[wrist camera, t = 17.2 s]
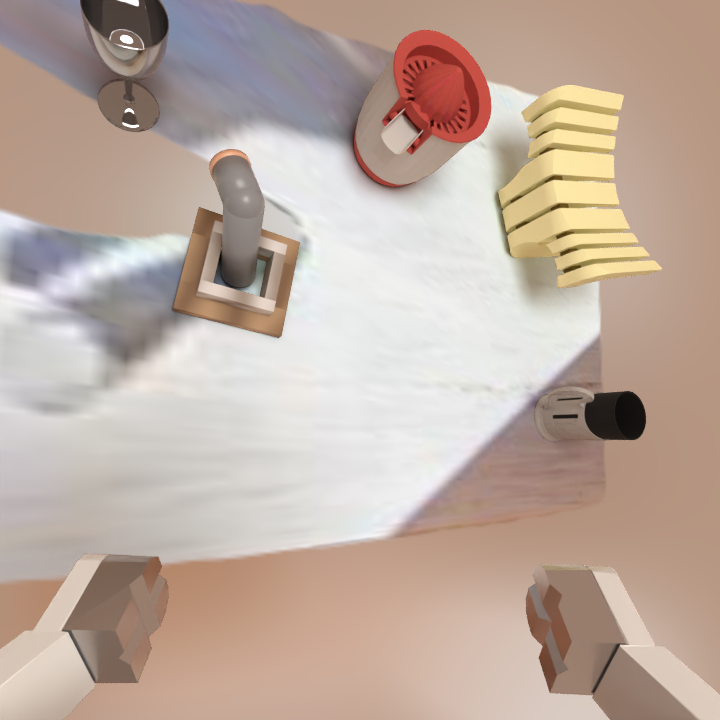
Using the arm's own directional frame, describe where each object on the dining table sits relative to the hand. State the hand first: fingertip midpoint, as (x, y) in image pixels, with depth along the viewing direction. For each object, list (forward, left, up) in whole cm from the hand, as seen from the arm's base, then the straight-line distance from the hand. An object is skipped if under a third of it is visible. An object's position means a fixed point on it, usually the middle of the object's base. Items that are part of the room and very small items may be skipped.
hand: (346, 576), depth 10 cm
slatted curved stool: (+52, +51, -52) cm, 90 cm away
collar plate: (+2, +25, -51) cm, 57 cm away
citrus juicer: (+20, +52, -52) cm, 76 cm away
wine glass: (-16, +42, -52) cm, 69 cm away
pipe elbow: (+1, +26, -51) cm, 57 cm away
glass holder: (+59, +17, -52) cm, 81 cm away
